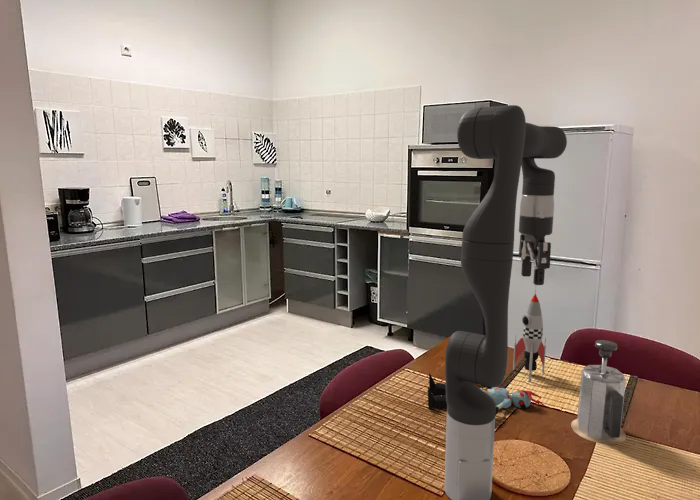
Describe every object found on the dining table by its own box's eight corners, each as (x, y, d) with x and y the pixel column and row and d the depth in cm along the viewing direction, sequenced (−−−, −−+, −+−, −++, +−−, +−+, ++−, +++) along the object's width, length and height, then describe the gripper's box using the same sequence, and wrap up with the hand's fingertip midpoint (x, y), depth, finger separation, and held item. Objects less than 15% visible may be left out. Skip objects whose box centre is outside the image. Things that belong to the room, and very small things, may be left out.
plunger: (619, 421, 116) (627, 348, 112) (592, 422, 116) (599, 348, 112) (605, 408, 122) (612, 338, 119) (580, 408, 122) (586, 338, 119)
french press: (634, 447, 112) (641, 385, 110) (593, 447, 112) (599, 386, 110) (607, 420, 124) (613, 363, 121) (570, 420, 124) (574, 364, 121)
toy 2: (510, 369, 155) (516, 277, 150) (533, 366, 158) (539, 275, 152) (529, 382, 147) (535, 285, 141) (552, 378, 149) (559, 282, 144)
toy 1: (430, 359, 148) (534, 362, 142) (430, 383, 150) (534, 387, 144) (426, 400, 124) (552, 405, 118) (427, 428, 125) (551, 434, 119)
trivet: (636, 446, 114) (636, 443, 114) (585, 446, 114) (585, 444, 114) (609, 419, 126) (609, 417, 125) (562, 419, 126) (562, 417, 125)
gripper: (511, 210, 123) (507, 273, 126) (531, 217, 109) (526, 287, 112) (541, 210, 123) (536, 273, 126) (564, 217, 109) (559, 287, 112)
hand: (532, 280), depth 119 cm, fingers open, 8 cm apart
